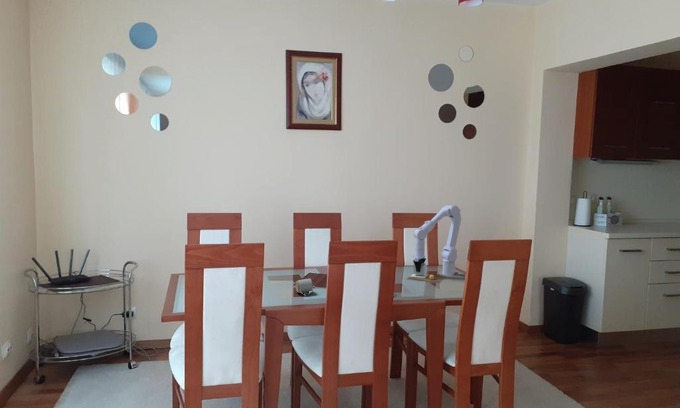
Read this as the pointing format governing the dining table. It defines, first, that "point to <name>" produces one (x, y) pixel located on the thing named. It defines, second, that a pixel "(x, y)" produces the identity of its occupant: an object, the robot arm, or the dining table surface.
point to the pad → (419, 275)
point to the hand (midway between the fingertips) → (419, 270)
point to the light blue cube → (420, 270)
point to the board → (428, 279)
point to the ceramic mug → (304, 285)
